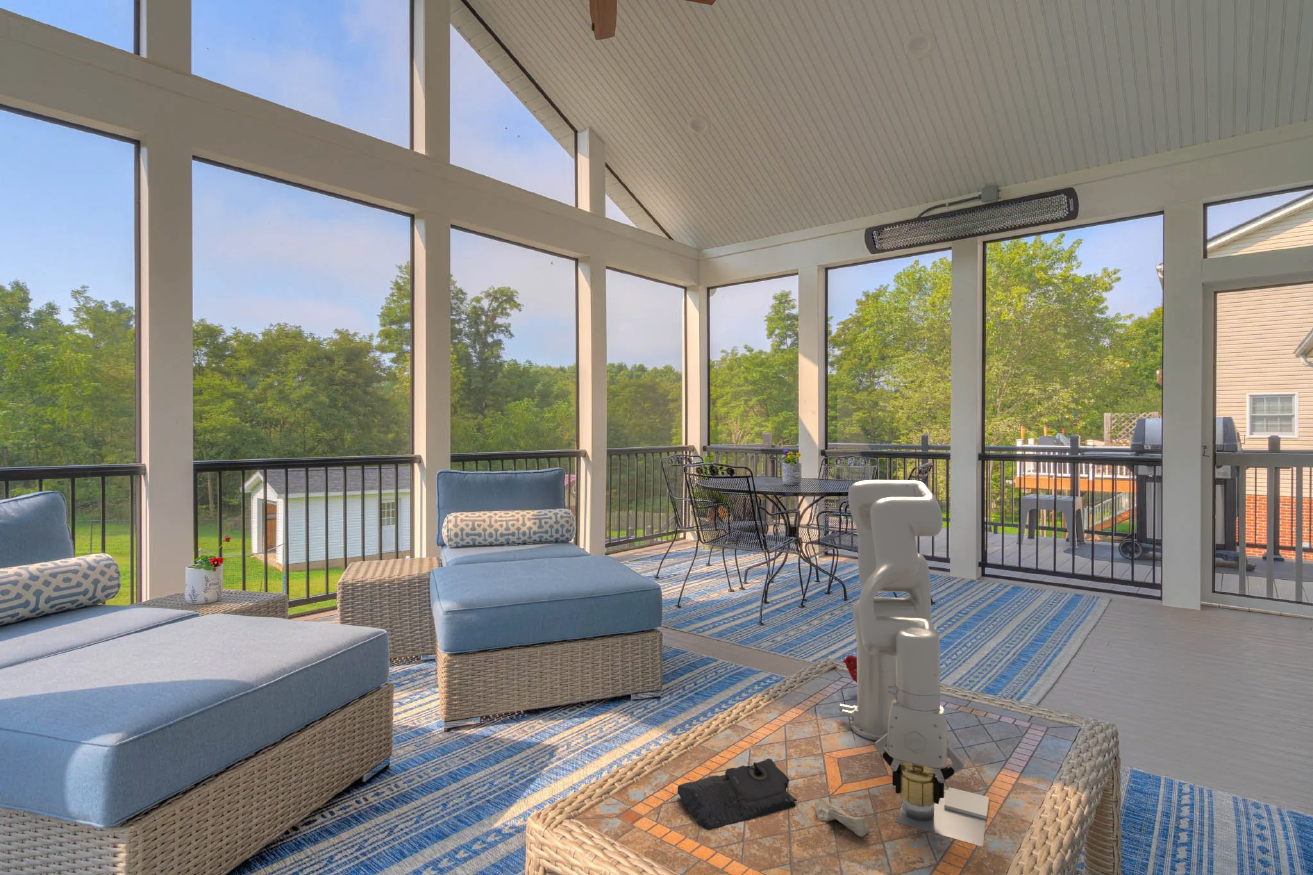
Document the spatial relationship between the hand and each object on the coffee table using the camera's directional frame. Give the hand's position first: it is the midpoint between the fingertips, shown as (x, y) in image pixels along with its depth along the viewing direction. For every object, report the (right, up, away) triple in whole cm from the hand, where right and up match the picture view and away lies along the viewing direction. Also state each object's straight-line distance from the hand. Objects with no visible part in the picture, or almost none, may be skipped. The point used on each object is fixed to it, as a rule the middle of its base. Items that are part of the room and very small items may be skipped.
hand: (918, 794), depth 120 cm
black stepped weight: (-33, -5, +7) cm, 34 cm away
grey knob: (0, -3, 0) cm, 3 cm away
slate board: (+5, -4, +1) cm, 7 cm away
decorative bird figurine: (+11, -4, +56) cm, 57 cm away
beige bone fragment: (-15, -5, -3) cm, 16 cm away
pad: (+10, -3, +3) cm, 11 cm away
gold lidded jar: (0, 0, 0) cm, 0 cm away
